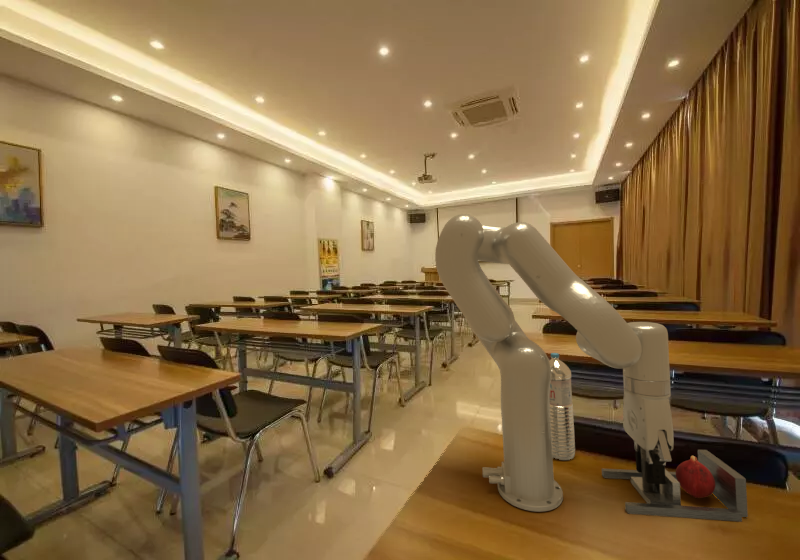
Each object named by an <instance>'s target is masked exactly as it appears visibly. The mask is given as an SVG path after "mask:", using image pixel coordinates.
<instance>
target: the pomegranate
mask: <svg viewBox="0 0 800 560" xmlns="http://www.w3.org/2000/svg"><path fill="white" fill-rule="evenodd" d="M675 472H676V478H677V481H678V482H679V483H680V488H681V489H682V490H683V491H685V492H686V493H687V494H688V495H690V497H692V498H694V499H702V498H707V497H709V496H711V495H712V493H713V492H714V489H715V480H714V477H713V475H712V474H711V472H710V471H709V470H708V469H707V468H706V467H705V466H704V465H703V464H701V463H700V462H698V457H696V456H694V455H691V456H690V459H688V460H685V461H682V462H680V464H678V465H677V467H676V469H675Z"/></svg>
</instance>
